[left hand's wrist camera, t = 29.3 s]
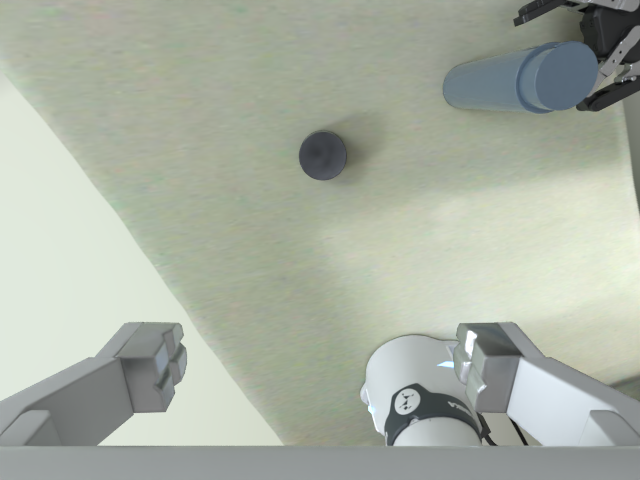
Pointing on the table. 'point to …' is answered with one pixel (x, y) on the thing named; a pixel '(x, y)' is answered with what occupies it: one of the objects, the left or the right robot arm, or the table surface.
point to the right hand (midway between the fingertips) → (527, 65)
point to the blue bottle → (525, 79)
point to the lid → (322, 155)
